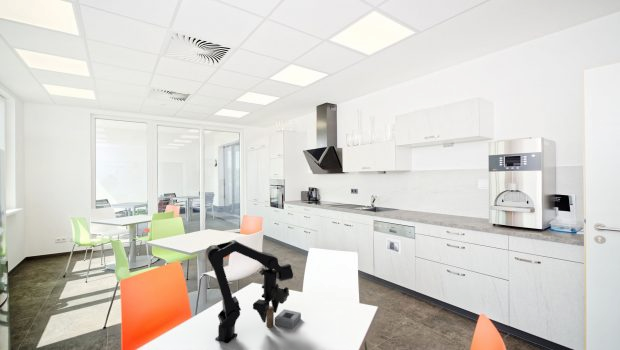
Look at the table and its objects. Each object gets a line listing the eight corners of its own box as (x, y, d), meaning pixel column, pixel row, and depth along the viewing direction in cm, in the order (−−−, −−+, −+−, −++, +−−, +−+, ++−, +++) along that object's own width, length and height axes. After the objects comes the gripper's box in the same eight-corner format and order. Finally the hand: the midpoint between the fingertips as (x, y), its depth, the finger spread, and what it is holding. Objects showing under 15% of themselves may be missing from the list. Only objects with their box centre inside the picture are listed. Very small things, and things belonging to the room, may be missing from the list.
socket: (292, 329, 121) (292, 322, 121) (274, 324, 124) (274, 318, 124) (300, 319, 129) (300, 312, 129) (284, 315, 133) (284, 309, 133)
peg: (271, 328, 122) (271, 310, 122) (265, 326, 123) (265, 308, 123) (274, 324, 124) (274, 307, 125) (268, 323, 126) (268, 305, 126)
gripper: (275, 294, 112) (274, 332, 112) (295, 278, 129) (294, 311, 129) (252, 289, 116) (252, 326, 116) (274, 274, 133) (274, 306, 133)
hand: (269, 317), depth 124 cm, fingers open, 9 cm apart
